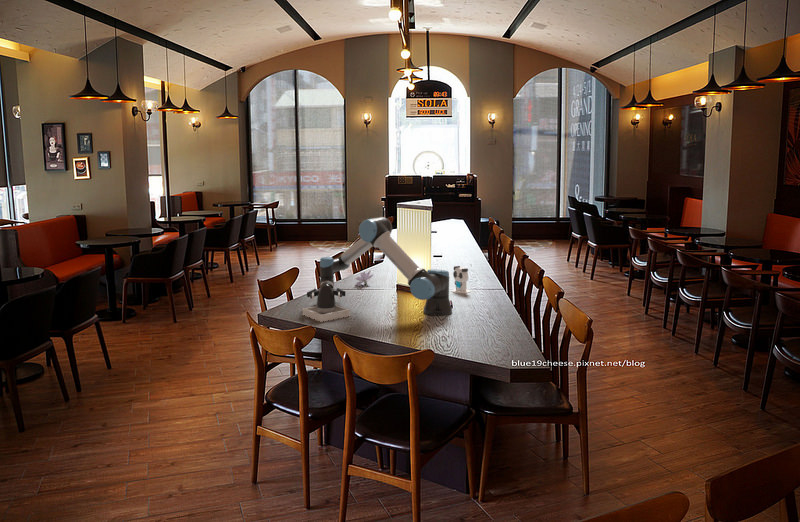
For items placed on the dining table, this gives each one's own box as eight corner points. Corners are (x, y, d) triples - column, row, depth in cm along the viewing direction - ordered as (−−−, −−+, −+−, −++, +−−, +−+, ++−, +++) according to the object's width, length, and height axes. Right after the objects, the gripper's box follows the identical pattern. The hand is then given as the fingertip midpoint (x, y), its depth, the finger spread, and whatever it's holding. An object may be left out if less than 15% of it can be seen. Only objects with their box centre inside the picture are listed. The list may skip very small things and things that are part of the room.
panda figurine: (447, 290, 390) (448, 266, 387) (463, 288, 395) (464, 264, 392) (457, 294, 379) (457, 269, 377) (473, 292, 384) (474, 268, 381)
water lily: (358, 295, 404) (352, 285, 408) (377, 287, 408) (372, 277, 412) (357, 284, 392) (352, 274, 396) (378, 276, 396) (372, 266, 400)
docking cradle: (350, 316, 329) (350, 309, 329) (321, 322, 318) (320, 315, 318) (331, 309, 343) (331, 303, 343) (302, 315, 332) (302, 308, 331)
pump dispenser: (336, 310, 336) (336, 282, 333) (335, 315, 326) (334, 286, 323) (317, 310, 335) (317, 282, 333) (315, 315, 325) (315, 286, 323)
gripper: (349, 294, 348) (350, 304, 327) (304, 295, 346) (301, 305, 325) (349, 281, 347) (350, 290, 326) (303, 282, 345) (301, 291, 324)
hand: (325, 297), depth 326 cm, fingers open, 13 cm apart
